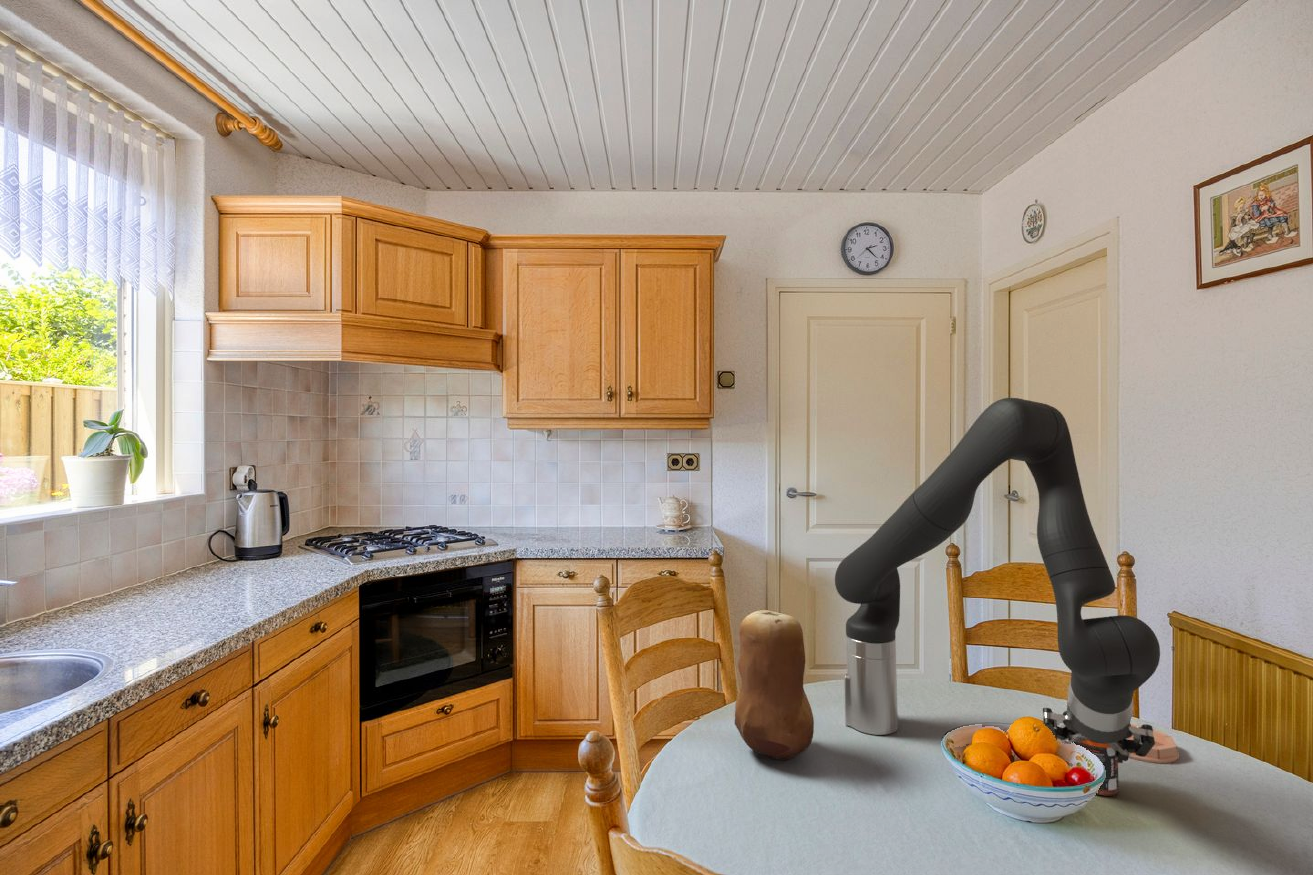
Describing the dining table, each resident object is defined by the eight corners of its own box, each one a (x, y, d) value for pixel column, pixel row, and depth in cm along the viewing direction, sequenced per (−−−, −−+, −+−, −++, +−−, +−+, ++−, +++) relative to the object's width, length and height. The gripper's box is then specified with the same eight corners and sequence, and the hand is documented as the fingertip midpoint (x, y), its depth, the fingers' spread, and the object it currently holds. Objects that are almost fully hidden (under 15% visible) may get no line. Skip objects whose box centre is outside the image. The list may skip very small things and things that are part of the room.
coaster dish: (1104, 753, 106) (1103, 740, 106) (1097, 728, 116) (1096, 716, 116) (1186, 769, 101) (1185, 755, 101) (1171, 741, 110) (1171, 729, 110)
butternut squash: (808, 737, 114) (805, 603, 115) (820, 774, 101) (816, 623, 102) (734, 735, 116) (731, 603, 116) (736, 771, 102) (733, 622, 103)
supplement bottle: (1127, 799, 92) (1124, 724, 93) (1083, 795, 93) (1081, 721, 94) (1106, 778, 98) (1104, 708, 98) (1065, 775, 99) (1063, 705, 100)
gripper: (1158, 688, 86) (1146, 738, 96) (1039, 671, 94) (1039, 719, 103) (1167, 741, 82) (1153, 788, 91) (1041, 719, 89) (1041, 764, 99)
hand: (1092, 751), depth 97 cm, fingers closed on supplement bottle, 6 cm apart
